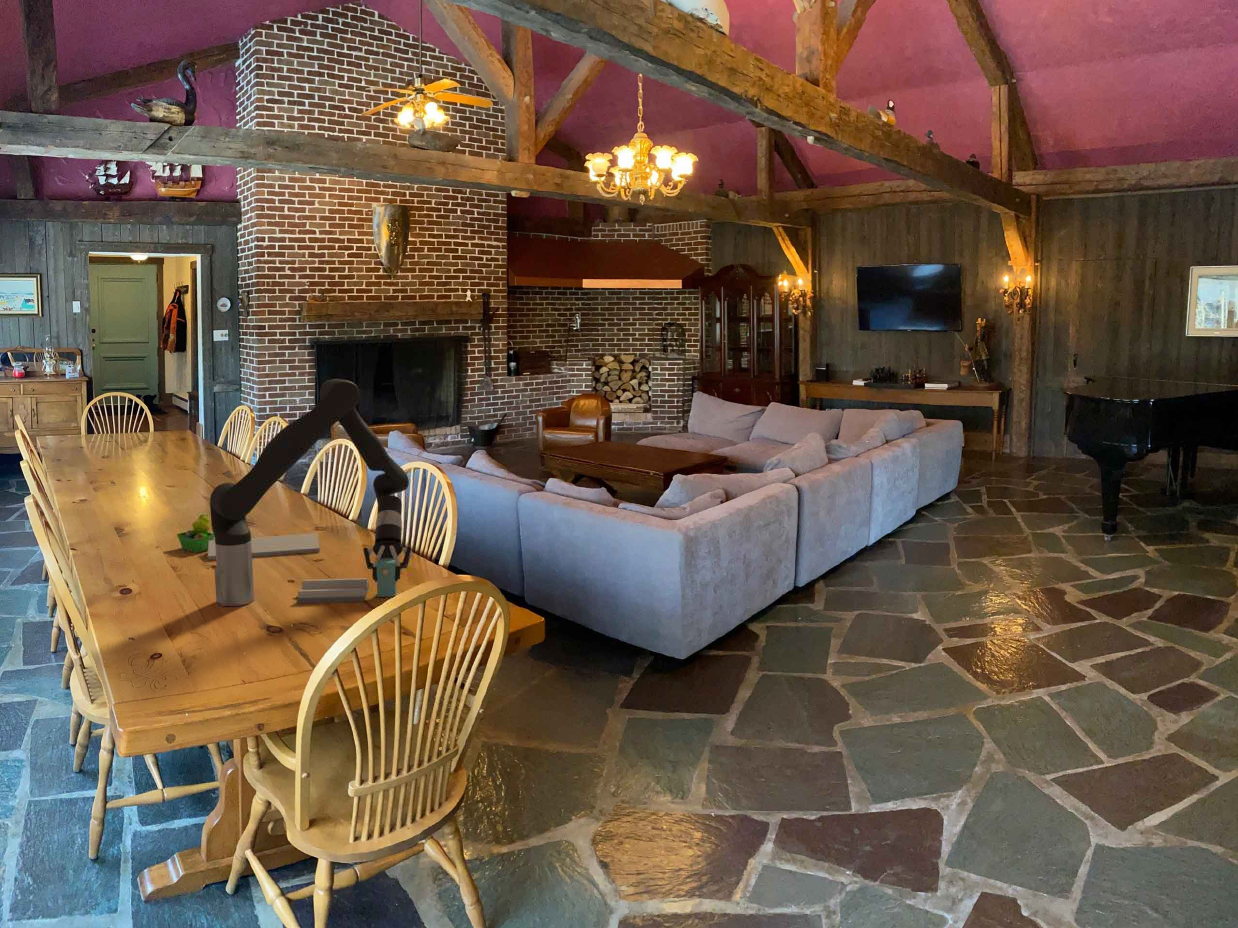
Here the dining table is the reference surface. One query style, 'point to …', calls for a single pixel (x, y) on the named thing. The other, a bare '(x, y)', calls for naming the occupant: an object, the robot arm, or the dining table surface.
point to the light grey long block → (277, 545)
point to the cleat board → (333, 590)
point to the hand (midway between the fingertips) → (386, 580)
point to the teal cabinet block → (386, 577)
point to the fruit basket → (197, 535)
